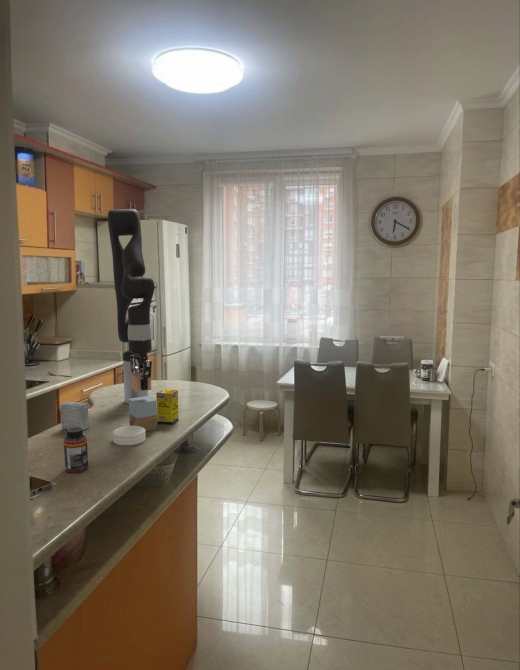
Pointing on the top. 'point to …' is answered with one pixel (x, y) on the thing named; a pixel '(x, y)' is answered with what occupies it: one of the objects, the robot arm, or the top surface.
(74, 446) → the supplement bottle
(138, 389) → the cube
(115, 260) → the robot arm
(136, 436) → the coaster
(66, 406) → the medicine box
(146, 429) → the tower base block
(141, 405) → the tower top block
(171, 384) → the top surface
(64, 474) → the top surface
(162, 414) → the supplement box
